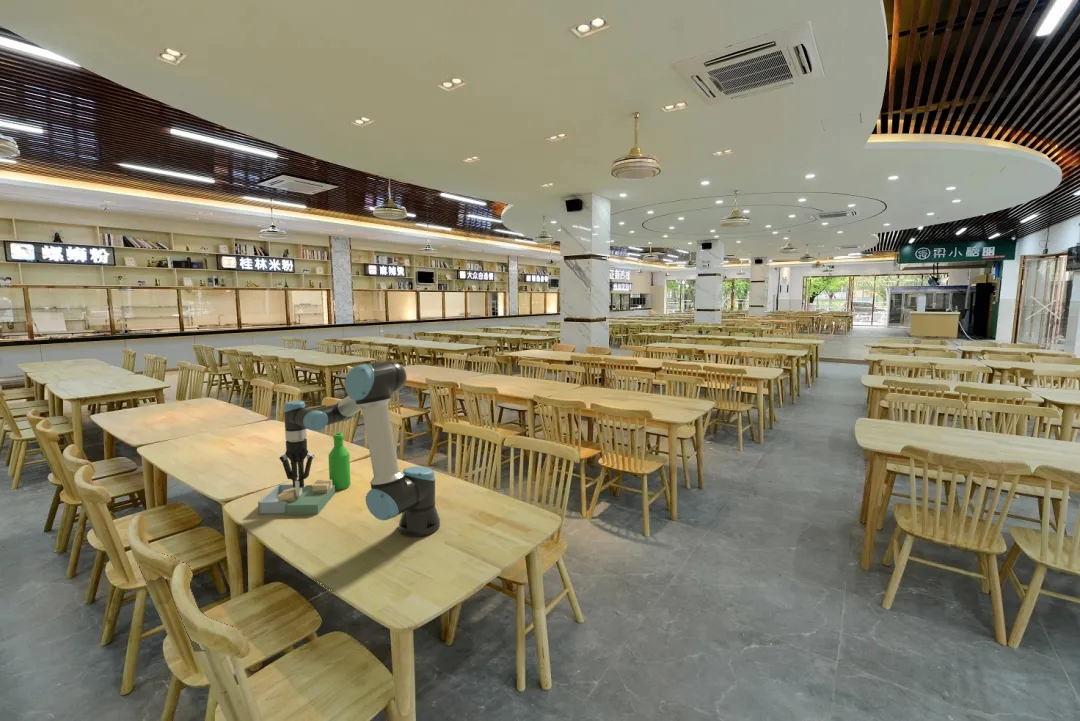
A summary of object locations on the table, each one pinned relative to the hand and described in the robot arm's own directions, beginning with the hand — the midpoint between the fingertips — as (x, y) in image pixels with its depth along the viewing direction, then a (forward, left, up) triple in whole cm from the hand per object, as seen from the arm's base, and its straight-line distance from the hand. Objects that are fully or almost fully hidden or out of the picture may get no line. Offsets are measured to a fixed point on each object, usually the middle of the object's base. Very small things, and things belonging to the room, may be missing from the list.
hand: (298, 494), depth 189 cm
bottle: (+21, -10, -6) cm, 24 cm away
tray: (+4, +8, -6) cm, 11 cm away
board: (+4, -4, -6) cm, 8 cm away
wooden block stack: (+8, -7, -2) cm, 10 cm away
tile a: (0, +3, -2) cm, 4 cm away
